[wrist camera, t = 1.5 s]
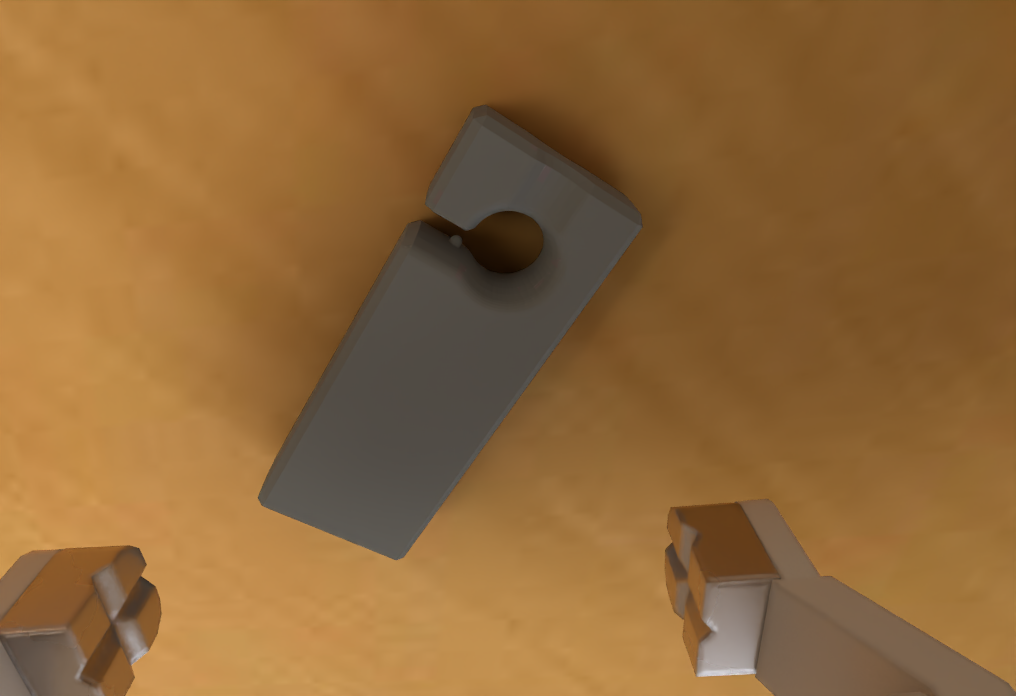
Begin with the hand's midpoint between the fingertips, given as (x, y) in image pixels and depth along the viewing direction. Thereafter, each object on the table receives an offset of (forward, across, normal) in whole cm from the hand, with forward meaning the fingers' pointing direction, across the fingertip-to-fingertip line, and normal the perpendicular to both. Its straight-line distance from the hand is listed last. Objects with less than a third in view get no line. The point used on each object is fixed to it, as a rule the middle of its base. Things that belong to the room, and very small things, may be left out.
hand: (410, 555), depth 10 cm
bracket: (+7, 0, -1) cm, 7 cm away
